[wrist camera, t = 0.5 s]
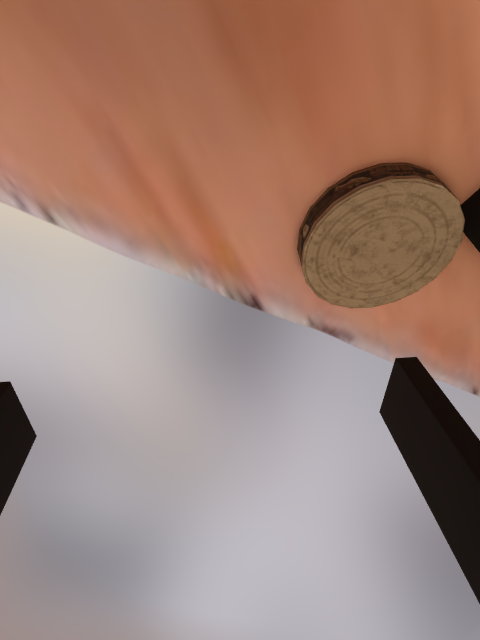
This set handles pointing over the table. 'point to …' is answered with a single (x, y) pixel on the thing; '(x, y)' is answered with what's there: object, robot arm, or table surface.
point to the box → (472, 219)
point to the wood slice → (379, 235)
